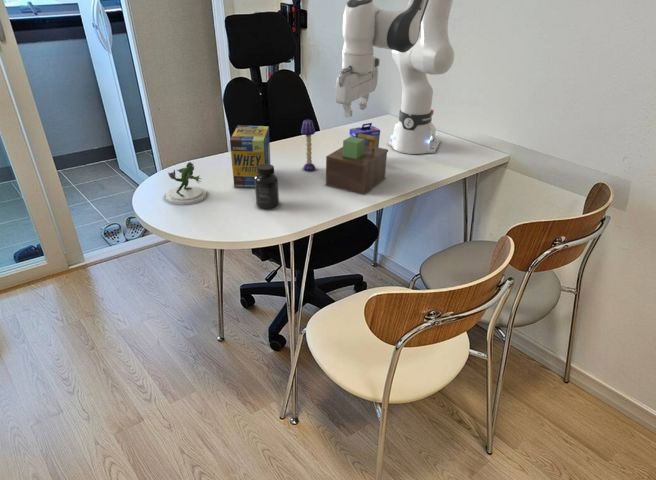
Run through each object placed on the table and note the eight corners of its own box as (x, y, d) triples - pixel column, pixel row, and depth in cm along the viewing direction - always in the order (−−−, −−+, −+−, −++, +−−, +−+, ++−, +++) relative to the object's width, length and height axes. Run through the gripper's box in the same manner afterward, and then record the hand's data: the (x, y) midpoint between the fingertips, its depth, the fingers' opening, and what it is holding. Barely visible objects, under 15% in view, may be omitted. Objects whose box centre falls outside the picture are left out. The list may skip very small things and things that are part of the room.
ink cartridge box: (354, 167, 174) (356, 126, 166) (347, 162, 178) (348, 121, 170) (378, 163, 178) (381, 122, 170) (370, 158, 182) (373, 118, 174)
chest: (348, 170, 172) (349, 145, 167) (384, 178, 166) (387, 152, 161) (325, 185, 160) (326, 158, 155) (363, 194, 154) (365, 167, 149)
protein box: (233, 188, 157) (229, 139, 149) (241, 170, 170) (237, 124, 162) (266, 188, 157) (263, 140, 149) (271, 170, 170) (269, 125, 162)
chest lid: (350, 144, 167) (351, 129, 164) (388, 151, 161) (389, 136, 159) (326, 158, 155) (326, 143, 152) (365, 167, 149) (366, 151, 147)
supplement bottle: (284, 205, 147) (282, 166, 141) (267, 212, 143) (264, 173, 136) (268, 198, 151) (266, 160, 144) (251, 205, 147) (248, 166, 140)
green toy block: (350, 151, 159) (350, 136, 156) (364, 154, 156) (364, 139, 154) (342, 156, 155) (343, 140, 152) (356, 159, 153) (357, 143, 150)
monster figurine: (213, 197, 151) (209, 164, 146) (178, 208, 145) (172, 175, 139) (193, 185, 159) (188, 154, 153) (158, 195, 152) (152, 163, 146)
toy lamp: (313, 172, 169) (313, 123, 160) (300, 171, 170) (299, 122, 160) (316, 167, 173) (316, 119, 164) (303, 166, 174) (303, 118, 164)
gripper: (350, 71, 132) (348, 123, 140) (382, 58, 147) (379, 106, 154) (329, 68, 135) (329, 120, 142) (363, 56, 149) (361, 103, 157)
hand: (355, 112), depth 149 cm, fingers open, 8 cm apart
